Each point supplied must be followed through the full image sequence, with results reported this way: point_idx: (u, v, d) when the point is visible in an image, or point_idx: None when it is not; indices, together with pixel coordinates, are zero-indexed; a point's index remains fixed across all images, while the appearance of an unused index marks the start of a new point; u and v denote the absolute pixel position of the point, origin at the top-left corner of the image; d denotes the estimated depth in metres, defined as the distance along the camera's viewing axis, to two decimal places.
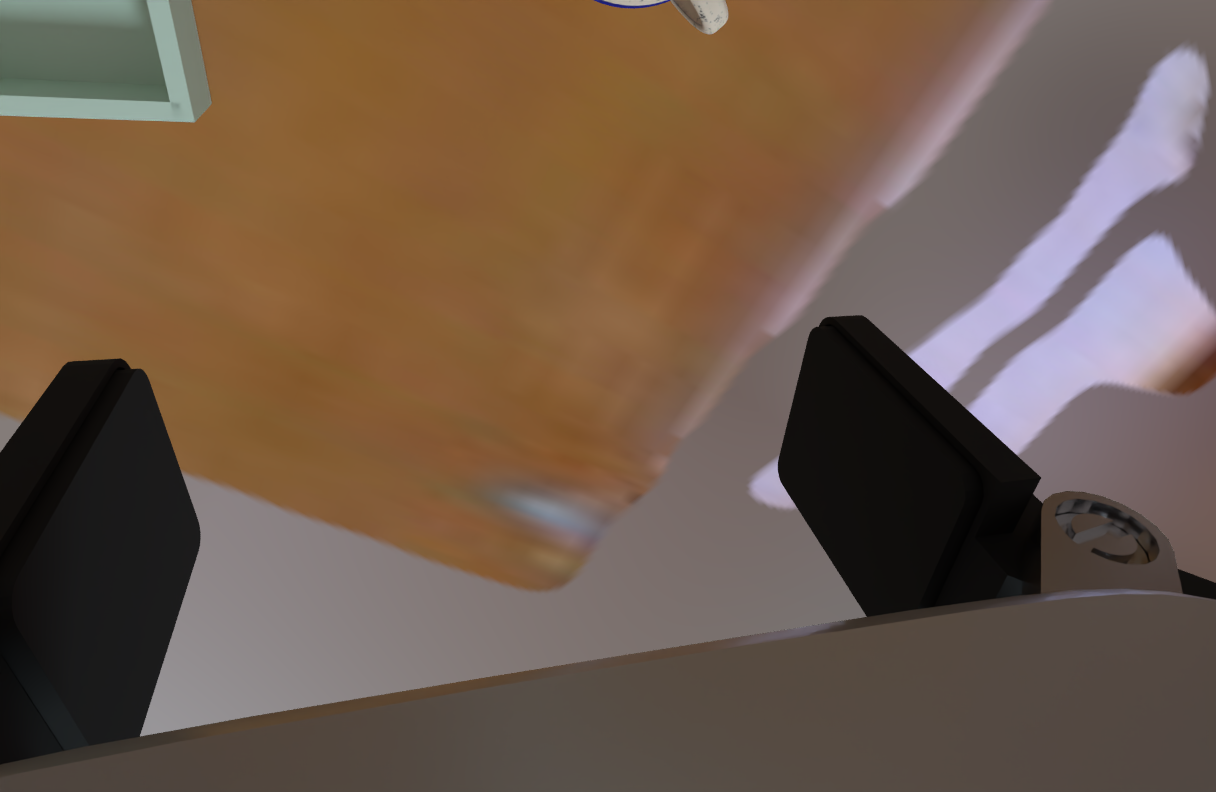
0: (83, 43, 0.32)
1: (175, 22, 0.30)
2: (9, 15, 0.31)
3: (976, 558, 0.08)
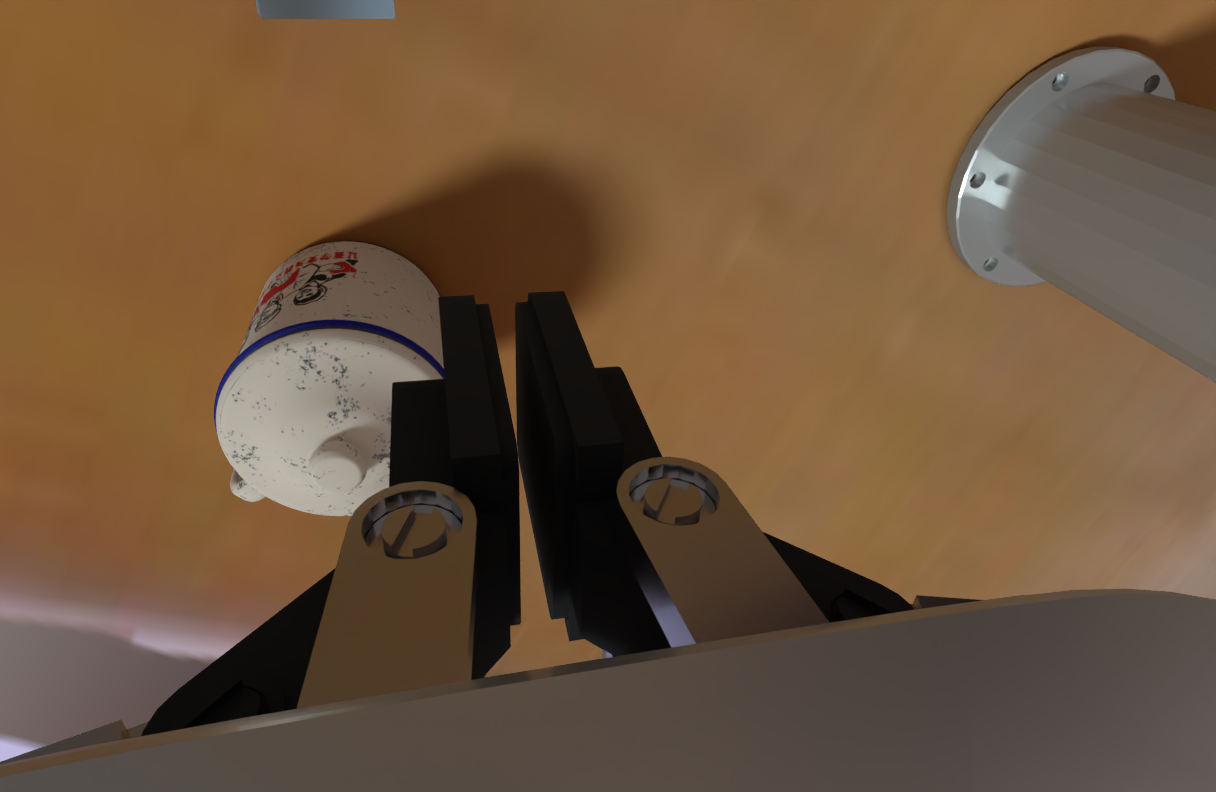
0: None
1: None
2: None
3: (578, 524, 0.08)
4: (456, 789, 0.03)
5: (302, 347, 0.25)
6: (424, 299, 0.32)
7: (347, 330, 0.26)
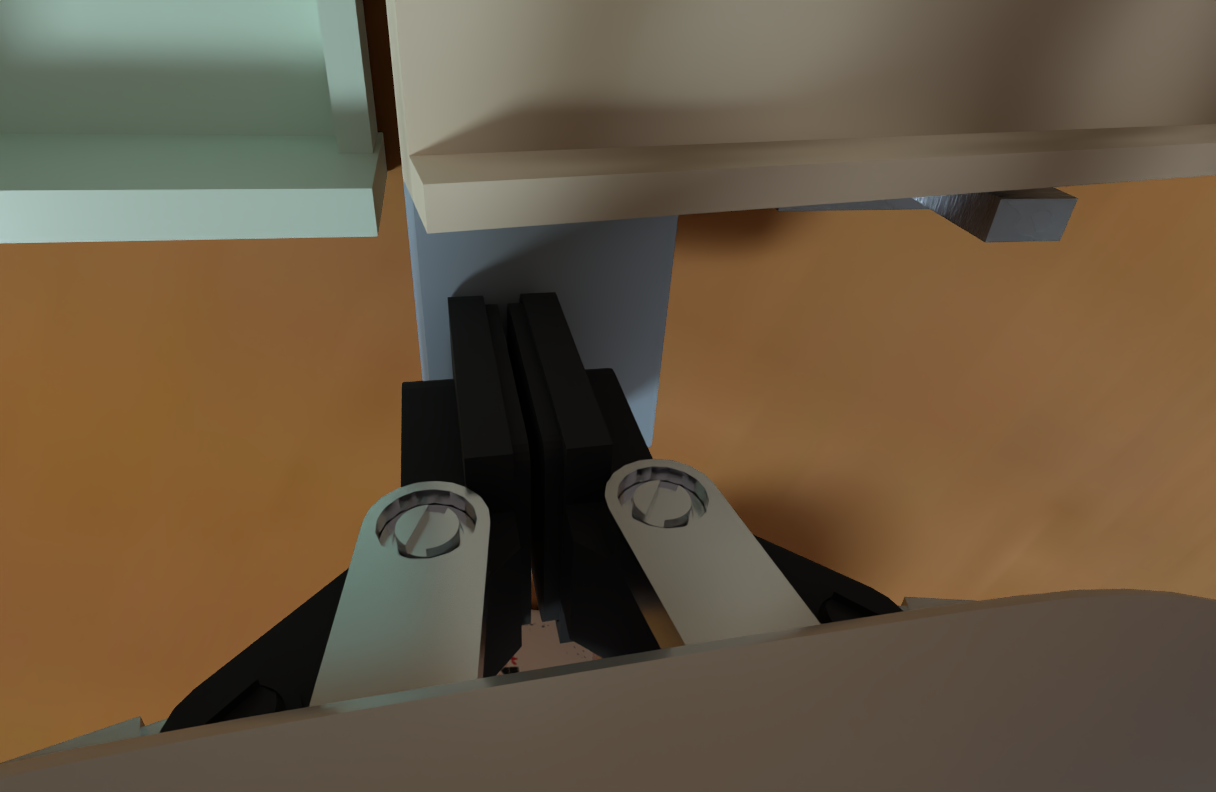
0: None
1: (21, 233, 0.11)
2: None
3: (567, 526, 0.08)
4: (456, 789, 0.03)
5: None
6: None
7: None
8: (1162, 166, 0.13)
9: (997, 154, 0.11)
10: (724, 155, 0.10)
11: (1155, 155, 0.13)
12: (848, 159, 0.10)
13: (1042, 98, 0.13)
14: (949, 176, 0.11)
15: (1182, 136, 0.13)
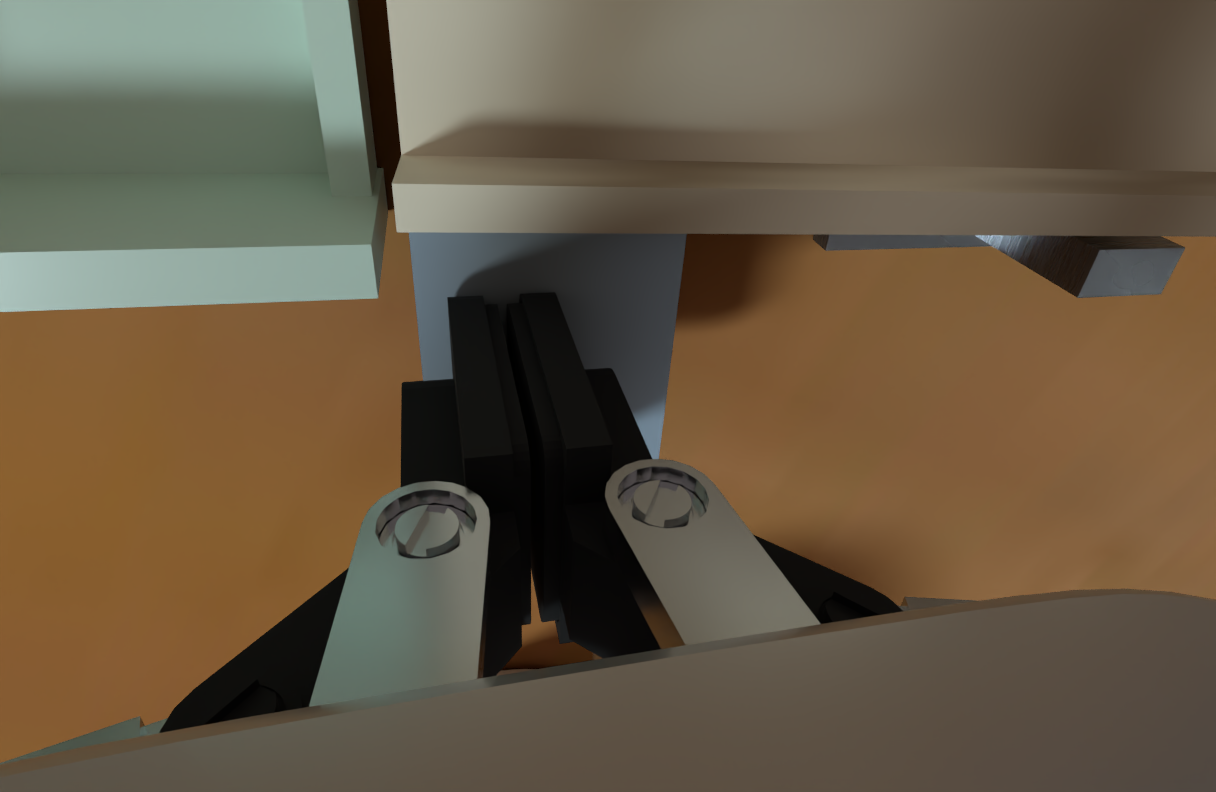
0: None
1: None
2: None
3: (567, 526, 0.08)
4: (456, 789, 0.03)
5: None
6: None
7: None
8: None
9: (1060, 193, 0.10)
10: (728, 174, 0.10)
11: None
12: (869, 187, 0.10)
13: (1141, 133, 0.11)
14: (996, 214, 0.10)
15: None
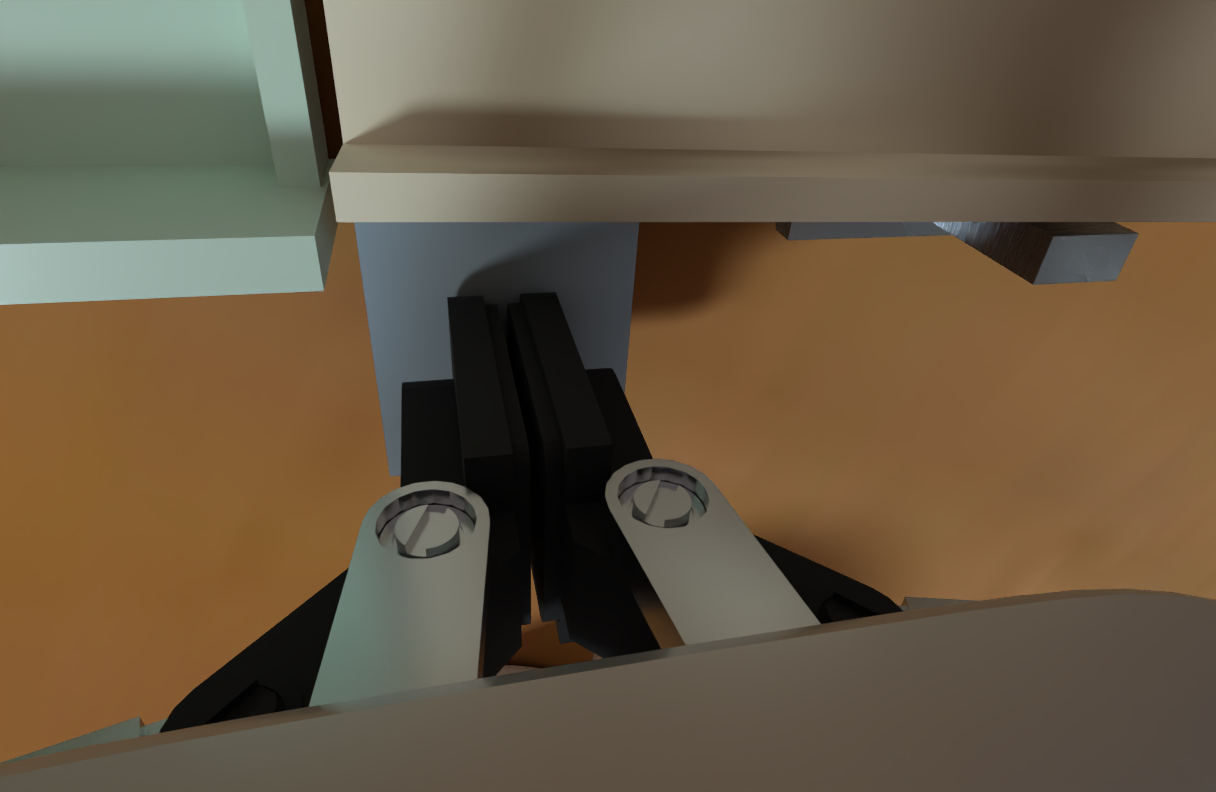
0: None
1: None
2: None
3: (567, 526, 0.08)
4: (456, 789, 0.03)
5: None
6: None
7: None
8: None
9: (1010, 179, 0.10)
10: (677, 162, 0.10)
11: None
12: (818, 174, 0.09)
13: (1093, 118, 0.11)
14: (947, 201, 0.10)
15: None
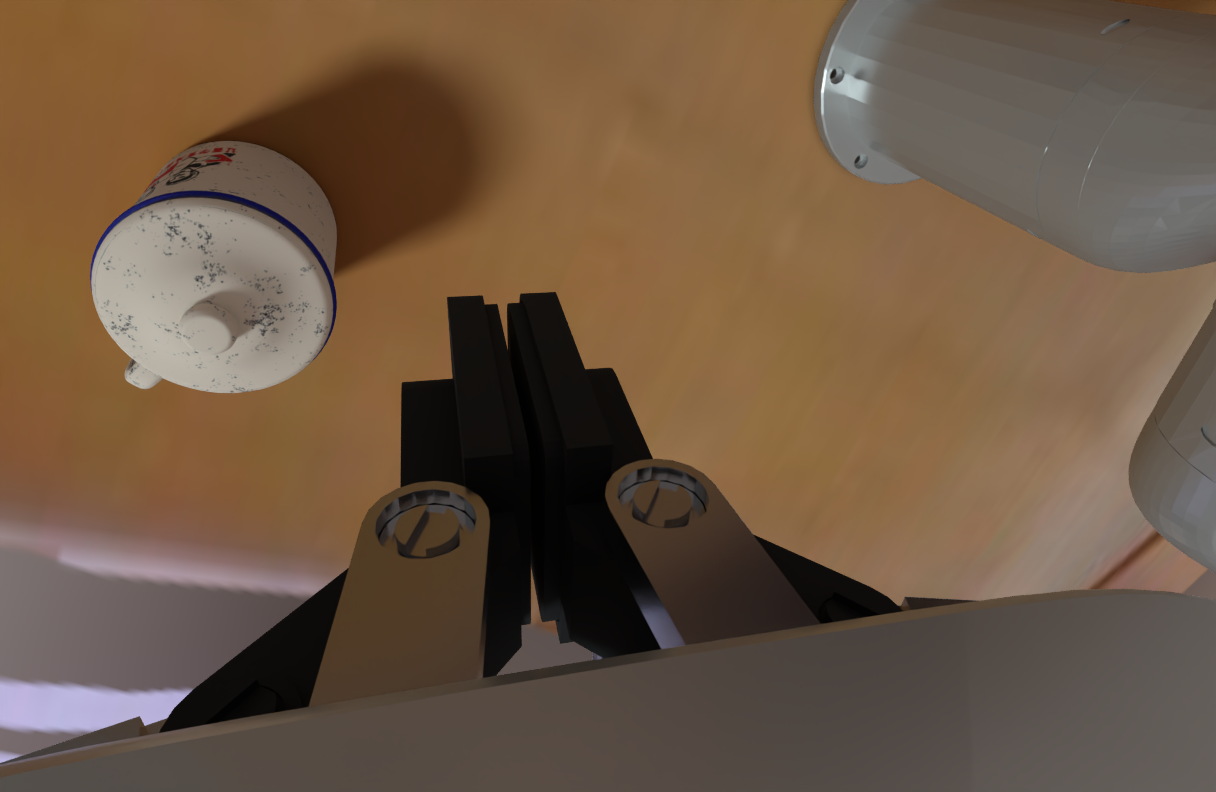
0: None
1: None
2: None
3: (567, 526, 0.08)
4: (455, 789, 0.03)
5: (166, 214, 0.27)
6: (303, 191, 0.34)
7: (210, 199, 0.28)
8: None
9: None
10: None
11: None
12: None
13: None
14: None
15: None
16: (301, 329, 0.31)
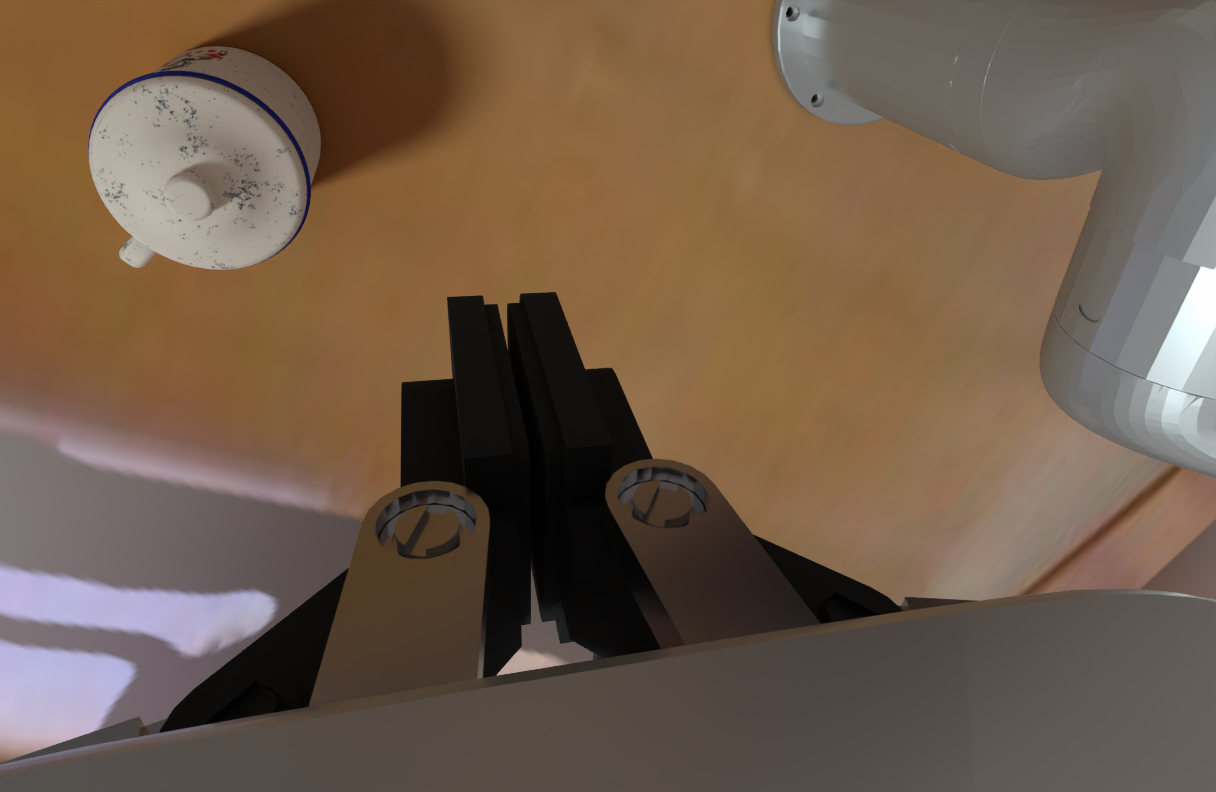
0: None
1: None
2: None
3: (567, 526, 0.08)
4: (455, 789, 0.03)
5: (156, 89, 0.30)
6: (288, 93, 0.37)
7: (196, 78, 0.31)
8: None
9: None
10: None
11: None
12: None
13: None
14: None
15: None
16: (276, 209, 0.34)
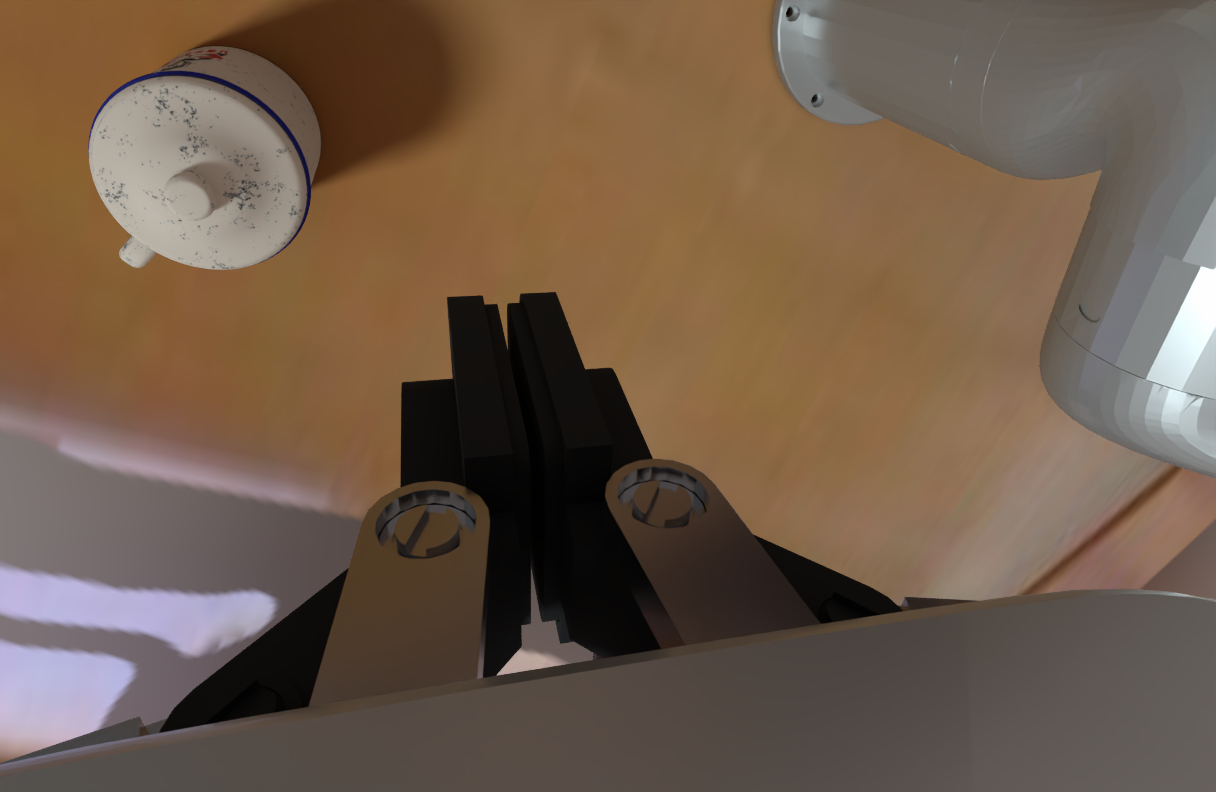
0: None
1: None
2: None
3: (567, 526, 0.08)
4: (455, 789, 0.03)
5: (156, 89, 0.30)
6: (288, 93, 0.37)
7: (196, 78, 0.31)
8: None
9: None
10: None
11: None
12: None
13: None
14: None
15: None
16: (276, 209, 0.34)
